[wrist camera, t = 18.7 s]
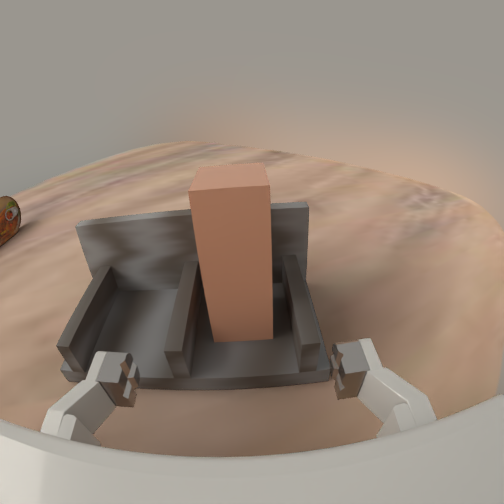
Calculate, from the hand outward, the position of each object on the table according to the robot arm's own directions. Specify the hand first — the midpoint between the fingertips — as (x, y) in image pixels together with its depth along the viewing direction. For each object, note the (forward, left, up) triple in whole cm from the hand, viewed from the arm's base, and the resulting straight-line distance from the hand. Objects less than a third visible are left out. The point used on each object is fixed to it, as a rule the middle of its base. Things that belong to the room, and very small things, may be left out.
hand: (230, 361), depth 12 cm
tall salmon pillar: (0, +11, -8) cm, 14 cm away
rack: (-4, +11, -9) cm, 15 cm away
